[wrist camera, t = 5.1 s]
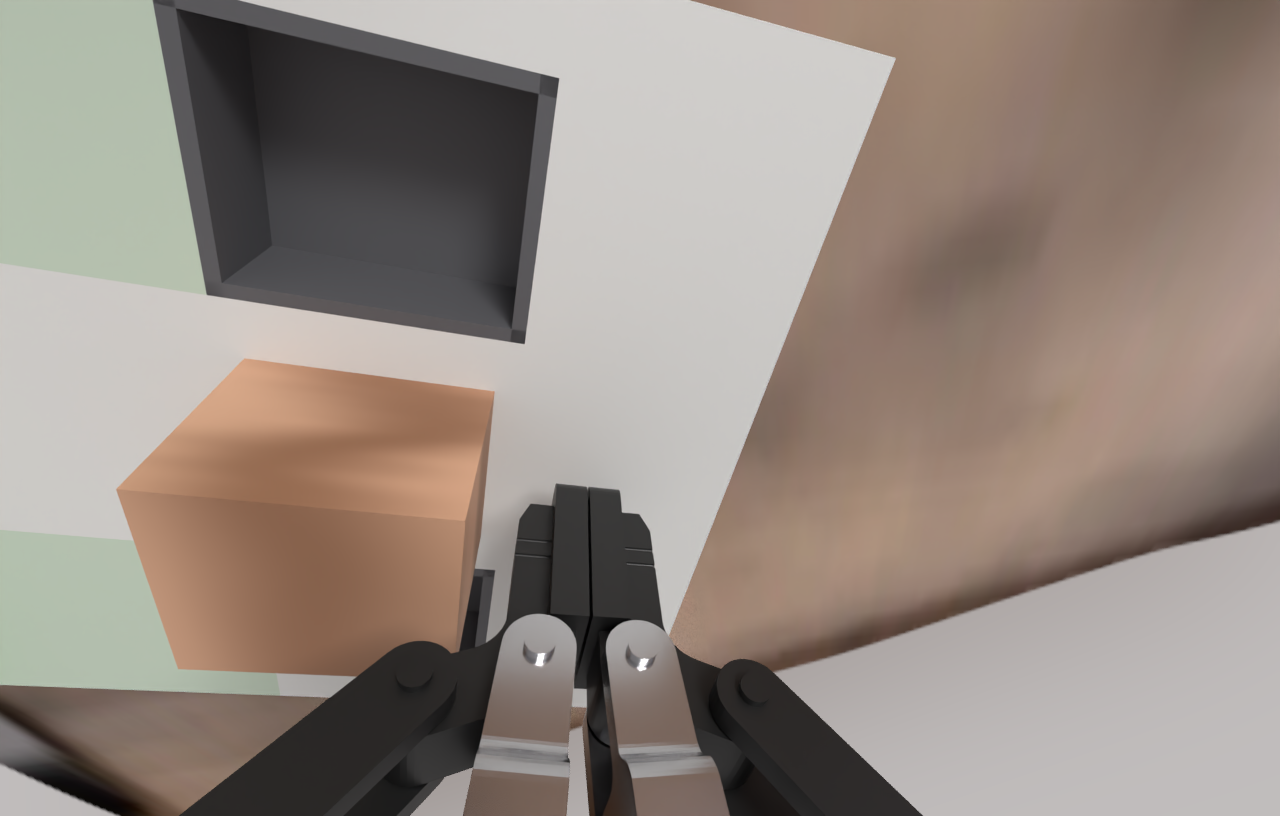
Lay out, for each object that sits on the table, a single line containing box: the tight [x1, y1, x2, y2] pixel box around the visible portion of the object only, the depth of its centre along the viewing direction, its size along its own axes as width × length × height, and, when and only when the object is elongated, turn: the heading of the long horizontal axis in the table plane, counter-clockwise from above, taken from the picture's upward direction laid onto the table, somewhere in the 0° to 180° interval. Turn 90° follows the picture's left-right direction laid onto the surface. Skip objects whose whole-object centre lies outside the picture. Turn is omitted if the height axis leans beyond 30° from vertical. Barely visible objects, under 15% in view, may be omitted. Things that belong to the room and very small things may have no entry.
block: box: [116, 358, 495, 677], centre depth 12 cm, size 5×4×4 cm
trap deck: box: [0, 0, 896, 707], centre depth 14 cm, size 20×20×4 cm
